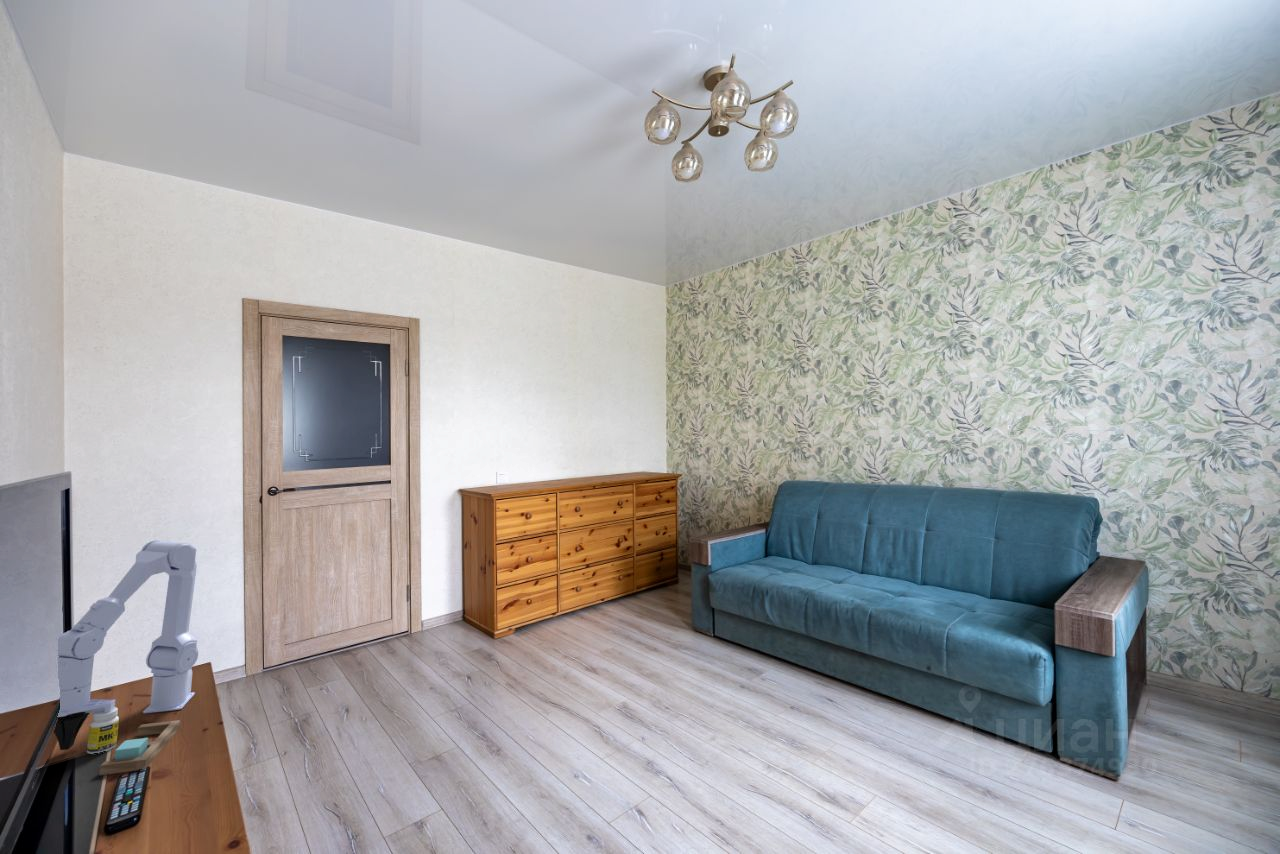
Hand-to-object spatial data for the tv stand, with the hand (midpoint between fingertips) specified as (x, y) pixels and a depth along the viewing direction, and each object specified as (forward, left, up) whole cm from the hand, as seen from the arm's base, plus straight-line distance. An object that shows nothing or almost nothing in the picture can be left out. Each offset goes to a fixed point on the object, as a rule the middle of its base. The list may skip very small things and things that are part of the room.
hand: (66, 747), depth 118 cm
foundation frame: (+3, +15, -1) cm, 15 cm away
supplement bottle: (0, +6, -2) cm, 6 cm away
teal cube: (+8, +14, -1) cm, 16 cm away
